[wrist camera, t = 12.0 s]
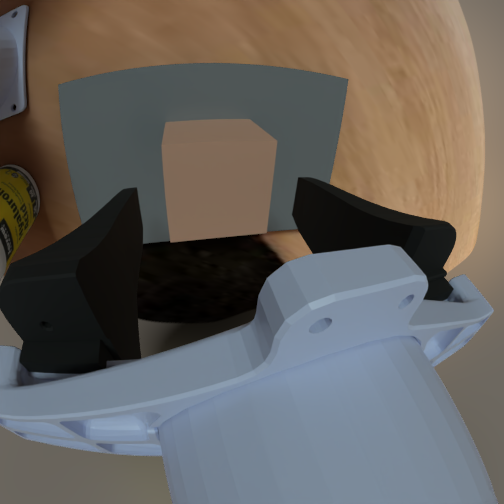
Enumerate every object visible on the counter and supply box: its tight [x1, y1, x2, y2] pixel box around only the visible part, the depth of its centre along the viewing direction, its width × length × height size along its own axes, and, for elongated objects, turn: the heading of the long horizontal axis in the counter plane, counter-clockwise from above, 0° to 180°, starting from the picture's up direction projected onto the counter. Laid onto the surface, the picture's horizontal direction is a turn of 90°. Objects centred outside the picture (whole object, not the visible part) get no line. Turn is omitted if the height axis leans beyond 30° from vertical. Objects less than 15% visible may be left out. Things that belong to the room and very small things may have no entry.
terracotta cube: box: [161, 119, 277, 242], centre depth 14 cm, size 5×5×5 cm
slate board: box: [58, 63, 348, 244], centre depth 17 cm, size 18×12×1 cm, turn 85°
